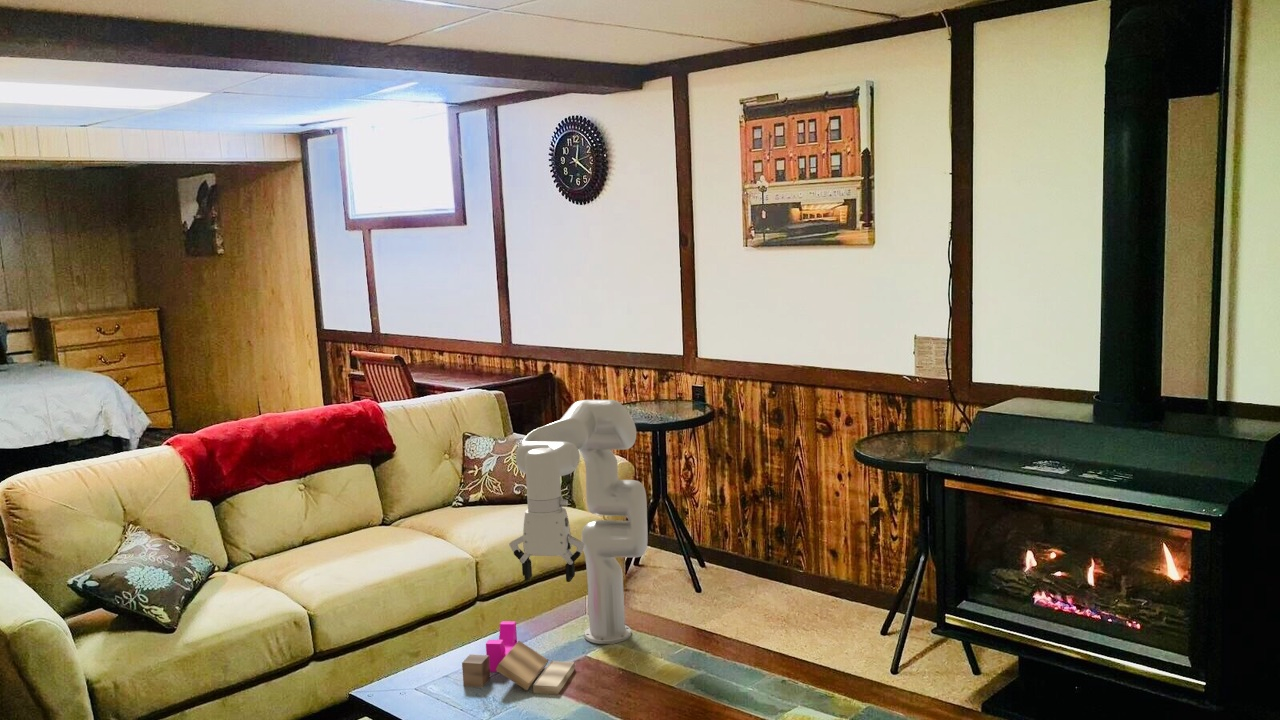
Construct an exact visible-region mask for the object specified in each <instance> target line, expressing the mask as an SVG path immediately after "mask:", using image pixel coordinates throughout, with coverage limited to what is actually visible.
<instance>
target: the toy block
mask: <svg viewBox="0 0 1280 720" xmlns="http://www.w3.org/2000/svg"><path fill="white" fill-rule="evenodd" d="M517 633H518V631H517V621H516V620H515V621H513V620H511V621H510V620H508V621H507V620H505V621H504V620H502V621H501V622H500V624H499V636H498V639H488V640H487V642H485V650H486V651H485V653H486V655H489V664H490V673H491V672H493V673H494V672H495V673H496V672H497V673H499V672H498V671H496V668H497V666H498V665H499V663H500V662H501V661H502V660H503V658H504V657H505V656H506V655H507V654H508V653H509V652H510V650H511V649H512V648H513V647H514V646H515V645H516V644H517V642H518V636H517Z"/></svg>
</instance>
